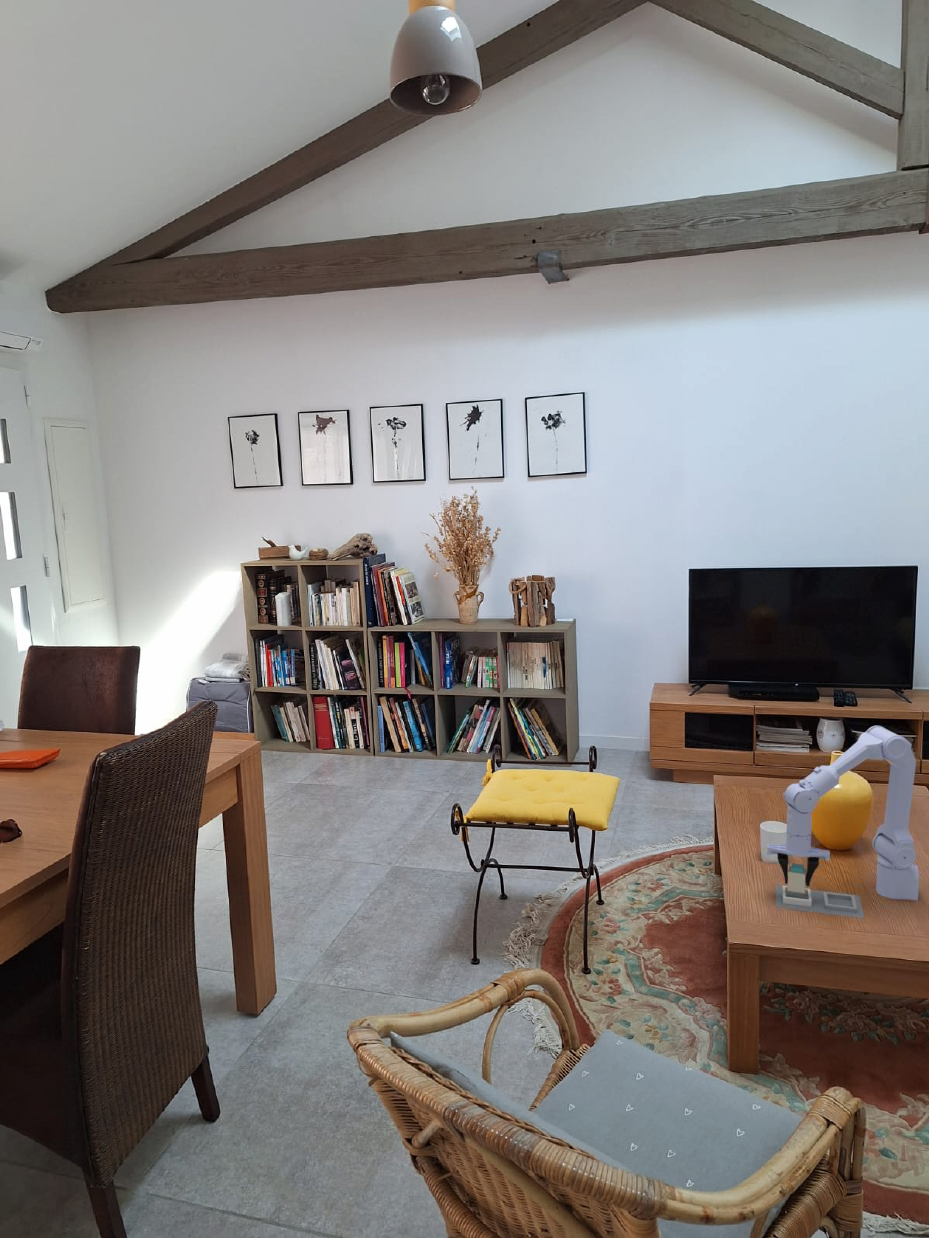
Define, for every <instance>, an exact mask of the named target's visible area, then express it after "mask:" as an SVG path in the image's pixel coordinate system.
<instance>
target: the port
mask: <svg viewBox="0 0 929 1238" xmlns="http://www.w3.org/2000/svg"><path fill="white" fill-rule="evenodd" d="M782 886H783V889H782V892H783V903H786V904H794V905H802V906H810V907H811V906H812V900H811V891H810V890H811V888H806V889H805V893H799V892H793V891H788V885H782ZM786 893H793V894H802V895H808V899H800V898H792V897H786Z"/></svg>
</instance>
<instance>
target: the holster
mask: <svg viewBox="0 0 929 1238" xmlns="http://www.w3.org/2000/svg"><path fill="white" fill-rule="evenodd" d="M829 892H830V891H825V892H823V898H824V905H825V909H830V910H838V911H846V912H854V913H857V906H856V901H855V897H854V895H855V894H851V895H846V894H847V893H842V894H838V893H839V892H834V893H829ZM827 897H828V898H836V899H845V900H851V903H852V907H849V906H840V905H832V904H828V898H827Z"/></svg>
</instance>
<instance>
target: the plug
mask: <svg viewBox="0 0 929 1238" xmlns="http://www.w3.org/2000/svg"><path fill="white" fill-rule="evenodd" d="M806 875H807V867H805V865H804V864H801V863H795V862H792V863H791V865H789V866H788V884H787V886H788V891H793V892H799V893H805V889H807V886H806Z"/></svg>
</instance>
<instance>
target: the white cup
mask: <svg viewBox="0 0 929 1238" xmlns="http://www.w3.org/2000/svg"><path fill="white" fill-rule="evenodd" d="M759 830H760V831H759V832H760V834H759V836H760V837H759V838H760V850H761V851H760V852H761V853H760V855H761V856H760V858H761V860H762V862H764V863H770V864H771V863H772V864H779V862H778V855H777V854H772V855H769V854H767V844H771V845H777V844H786V833H787V823H784V822H781V821H780V822H779V821H776V820H773V821H772V820H768V821H763V822H761V823H760V825H759Z"/></svg>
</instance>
